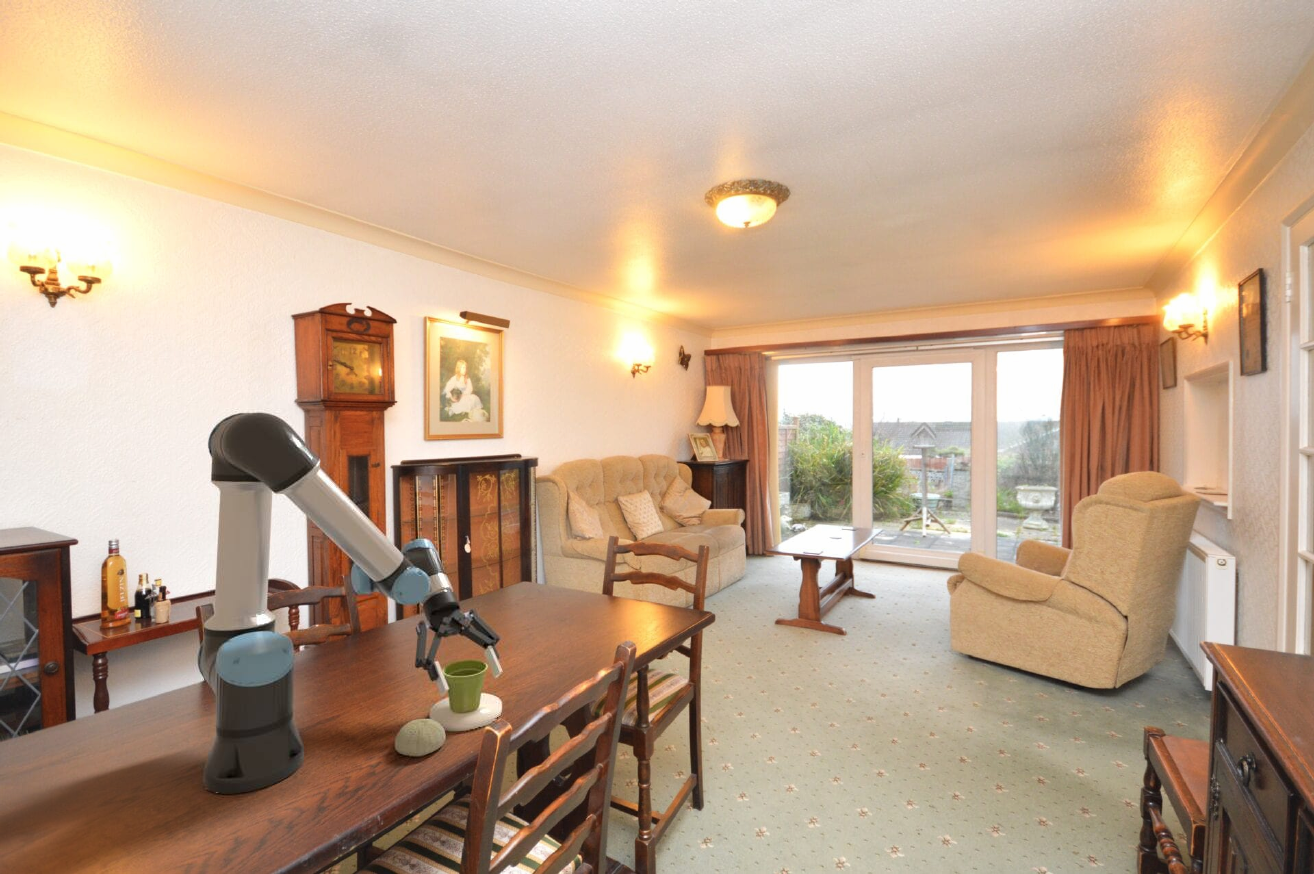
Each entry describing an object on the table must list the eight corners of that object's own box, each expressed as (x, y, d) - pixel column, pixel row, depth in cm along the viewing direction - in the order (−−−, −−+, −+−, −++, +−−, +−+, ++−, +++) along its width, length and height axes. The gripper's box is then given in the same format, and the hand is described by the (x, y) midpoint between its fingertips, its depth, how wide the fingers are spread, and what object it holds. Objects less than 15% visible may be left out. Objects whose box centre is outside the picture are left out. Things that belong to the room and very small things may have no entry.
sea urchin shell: (419, 756, 112) (399, 718, 115) (399, 777, 115) (381, 739, 118) (458, 735, 120) (439, 699, 122) (439, 755, 123) (421, 720, 125)
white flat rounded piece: (452, 739, 122) (452, 731, 122) (416, 715, 132) (416, 708, 132) (515, 713, 133) (515, 706, 133) (478, 693, 143) (478, 687, 143)
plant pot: (474, 719, 127) (474, 678, 127) (433, 714, 129) (433, 674, 129) (494, 700, 136) (495, 661, 136) (456, 696, 138) (456, 658, 138)
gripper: (478, 598, 152) (513, 675, 141) (379, 619, 133) (411, 710, 123) (490, 580, 148) (527, 658, 138) (390, 600, 130) (424, 692, 120)
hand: (472, 683), depth 131 cm, fingers open, 12 cm apart
